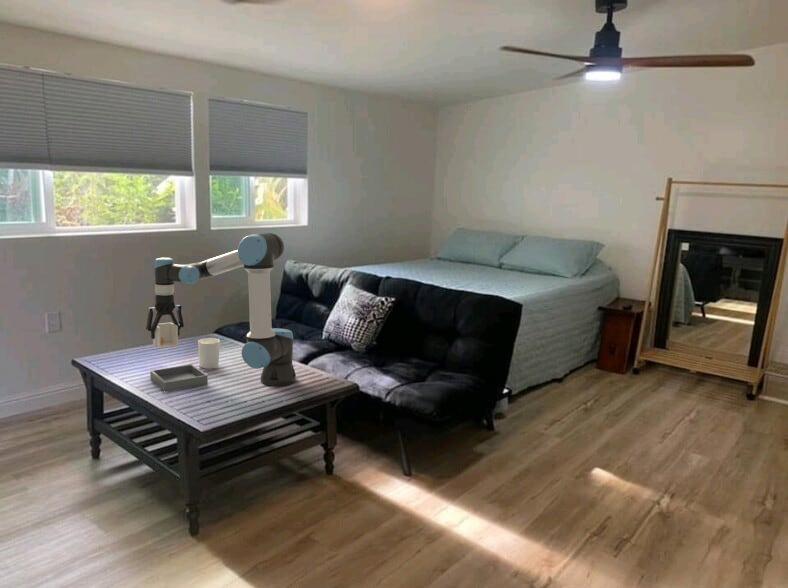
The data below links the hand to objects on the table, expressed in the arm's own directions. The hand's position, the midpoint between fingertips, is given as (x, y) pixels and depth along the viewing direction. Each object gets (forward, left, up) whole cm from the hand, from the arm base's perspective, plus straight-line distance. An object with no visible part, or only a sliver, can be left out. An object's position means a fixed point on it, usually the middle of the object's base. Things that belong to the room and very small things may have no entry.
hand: (165, 344), depth 246 cm
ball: (+1, +2, +2) cm, 3 cm away
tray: (-16, 0, -12) cm, 20 cm away
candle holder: (-2, -19, -13) cm, 23 cm away
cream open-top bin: (0, 0, 0) cm, 0 cm away
